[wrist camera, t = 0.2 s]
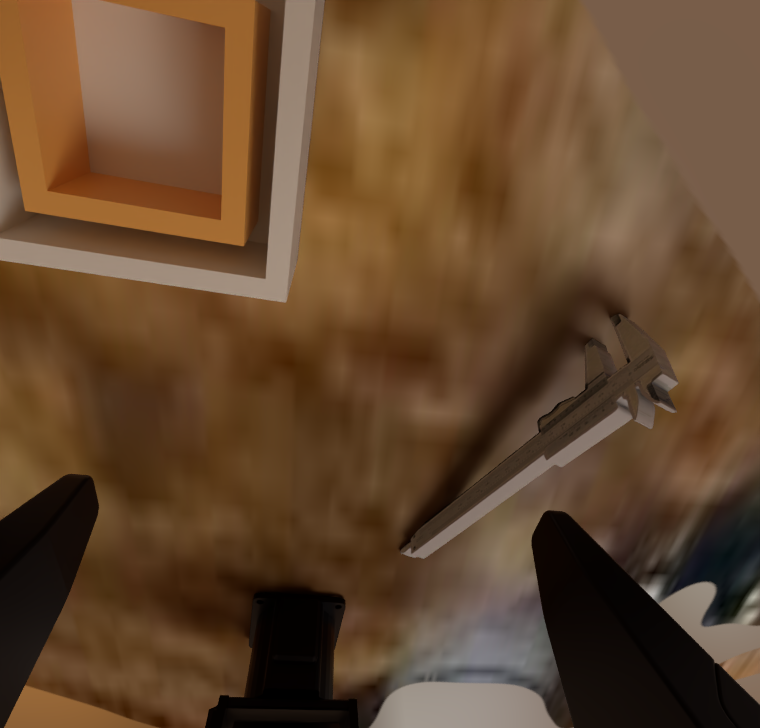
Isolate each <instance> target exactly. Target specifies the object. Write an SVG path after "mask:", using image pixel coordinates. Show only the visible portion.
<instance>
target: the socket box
mask: <svg viewBox="0 0 760 728" xmlns="http://www.w3.org/2000/svg"><path fill="white" fill-rule="evenodd" d="M324 2H325V0H0V260H3V261H10V262H16V263H23V264H30V265H37V266H43V267H50V268H57V269H63V270H70V271H77V272H84V273H90V274H97V275H104V276H111V277H117V278H124V279H131V280H138V281H144V282H151V283H158V284H164V285H171V286H178V287H185V288H191V289H198V290H205V291H212V292H218V293H225V294H232V295H239V296H245V297H252V298H259V299H265V300H272V301H279V302H286V301H287V297H288V293H289V289H290V286H291V282H292V278H293V275H294V271H295V267H296V263H297V258H298V249H299V239H300V230H301V220H302V211H303V202H304V192H305V183H306V173H307V164H308V154H309V145H310V135H311V126H312V116H313V107H314V97H315V88H316V78H317V69H318V59H319V50H320V40H321V31H322V21H323V12H324Z"/></svg>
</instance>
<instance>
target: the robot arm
mask: <svg viewBox="0 0 760 728" xmlns="http://www.w3.org/2000/svg"><path fill="white" fill-rule="evenodd" d="M98 510H99V504H98V499H97V495H96V490H95V486H94V481H93V479H92V477H90V476H88V475H78V474H68V475H65V476H63V477H62V478H60V479H59V480H57V481H56V482H55V483H53V484H52V485H50V486H49V487H47V488H46V489H45V490H43V491H42V492H40V493H39V494H37V495H36V496H35V497H33V498H32V499H30V500H29V501H27V502H26V503H25V504H23V505H22V506H20V507H19V508H17V509H16V510H15V511H13V512H12V513H10V514H9V515H8V516H6V517H5V518H3V519H2V520H0V728H4V726H5V724H6V722H7V720H8V718H9V716H10V714H11V712H12V710H13V708H14V706H15V704H16V702H17V700H18V698H19V696H20V694H21V692H22V690H23V688H24V686H25V684H26V682H27V680H28V678H29V675H30V673H31V671H32V669H33V667H34V665H35V663H36V661H37V659H38V657H39V655H40V653H41V651H42V649H43V647H44V645H45V643H46V641H47V639H48V637H49V635H50V633H51V631H52V629H53V626H54V624H55V622H56V620H57V618H58V616H59V614H60V612H61V610H62V608H63V606H64V604H65V602H66V599H67V597H68V595H69V592H70V590H71V587H72V585H73V582H74V579H75V577H76V574H77V571H78V568H79V566H80V563H81V560H82V557H83V554H84V552H85V549H86V546H87V543H88V541H89V538H90V535H91V532H92V530H93V527H94V524H95V521H96V519H97V515H98ZM532 550H533V556H534V562H535V568H536V574H537V580H538V586H539V592H540V598H541V604H542V609H543V615H544V619H545V623H546V627H547V631H548V635H549V638H550V642H551V646H552V649H553V653H554V656H555V660H556V664H557V667H558V671H559V675H560V678H561V682H562V686H563V689H564V693H565V696H566V700H567V704H568V707H569V711H570V715H571V718H572V722H573V725H574V728H760V704H759V703H758V702H757V701H755V699H753V698H752V697H751V696H750V695H749V694H748V693H747V692H746V691H745V690H744V689H743V688H742V687H741V686H740V685H739V684H738V683H737V682H736V681H735V680H734V679H733V678H732V677H731V676H730V675H729V674H728V673H727V672H726V671H725V670H724V669H723V668H722V667H721V666H720V665H719V664H717V663H714V660H713V659H712V657H711V656H710V655H709V654H708V653H707V652H706V651H705V650H704V649H702V647H700V646H699V644H698V643H697V642H696V641H695V640H694V639H693V638H692V637H691V636H690V635H689V634H687V632H686V631H685V630H684V629H682V627H681V626H680V625H679V624H678V623H677V622H676V621H674V619H672V617H671V616H670V615H669V614H668V613H667V612H666V611H665V610H664V609H663V608H662V607H661V606H660V605H659V604H658V603H657V602H656V601H655V600H654V599H653V598H652V597H651V596H650V595H649V594H648V593H647V592H646V591H645V590H644V589H643V588H642V587H641V586H640V585H639V584H638V583H637V582H636V581H635V580H634V579H633V578H632V577H631V576H630V575H629V574H628V573H627V572H626V571H625V570H624V569H623V568H622V567H621V566H620V565H619V564H618V563H617V562H616V561H615V560H614V559H613V558H612V557H611V556H610V555H609V554H608V553H607V552H606V551H605V550H604V549H603V548H602V547H601V546H600V545H599V544H598V543H597V542H596V541H595V540H594V539H593V538H592V537H591V536H590V535H589V534H588V533H587V532H586V531H585V530H584V529H583V528H582V527H581V526H580V525H579V524H578V523H577V522H576V521H575V520H574V519H573V518H572V517H571V516H569V515H568V514H567V513H565V512H562V511H551V510H549V511H546V512H545V513H544V514H543V515H542V517H541V519H540V521H539V523H538V525H537V527H536V529H535V531H534V533H533V535H532ZM344 611H345V600H344V599H343V598H337V597H322V596H307V595H292V594H277V593H262V592H261V593H256V594H255V595H254V598H253V605H252V616H251V627H250V638H249V647H251V648H252V653H251V659H250V665H249V671H248V677H247V683H246V689H245V695H244V697H229V695H220V698H219V702H218V705H217V706H216V707H214V708H211V709H209V712H208V717H207V721H206V726H205V728H359V727H358V712H357V699H356V698H348V700H333V670H334V649H335V646H336V642H337V638H338V634H339V630H340V626H341V622H342V619H343V615H344Z"/></svg>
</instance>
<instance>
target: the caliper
mask: <svg viewBox="0 0 760 728" xmlns="http://www.w3.org/2000/svg"><path fill="white" fill-rule="evenodd" d="M610 319H611V321H612V324H613V326H614V328H615V331H616V333H617V336H618V339H619V341H620V344H621V346H622V349H623V352H624V354H625V357H626V360H627V362H628V364H626V365H625V366H623V367H622V368H620V369H619V370H618V371H617V370H616V367H615V365H614V362H613V360H612V357H611V355H610V354H609V353H608V351H607V348H606V346H605V345H603V344H601V343H599V342H598V341H596V340H594V339H593V338H592V339H591V340H590V341H589V342H588V343H587V344H586V345H585V390H584V391H583V392H581V393H580V394H579V395H578V396H577V397H571V398H569V399H566V400H564V401H562V402H560V403H558V404H557V405H556V406H555V407H554V409H553V410H552V411H551V412H550V413H548V414H546V415H544V416H542V417H541V418H539V420H538V422H537V424H538V429H539V433H538V434H537V435H535V436H534V437H533V438H532V439H530V440H529V441H528V442H527V443H525V444H524V445H523V446H522V447H520V448H519V449H518V450H517V451H515V452H514V453H513V454H512V455H510V456H509V457H508V458H507V459H505V460H504V461H503V462H502V463H500V464H499V465H498V466H497V467H495V468H494V469H493V470H492V471H490V472H489V473H488V474H487V475H485V476H484V477H483V478H482V479H480V480H479V481H478V482H477V483H475V484H474V485H473V486H472V487H470V488H469V489H468V490H467V491H465V492H464V493H463V494H462V495H460V496H459V497H458V498H456V499H455V500H454V501H453V502H451V503H450V504H449V505H448V506H446V507H445V508H444V509H442V510H441V511H440V512H439V513H437V514H436V515H435V516H434V517H432V518H431V519H430V520H428V521H427V522H426V523H425V524H423V525H422V527H421V528H420V529H419V530H418V531H417V532H416V533H415V534H414V535H413V537H412V538H411V542H410V543H408V544H407V545H406V546H404V547H403V548H402V549H401V551H400V553H402V554H405V555H407V556H410V557H413V558H416V557H420V558H423V559H424V558H426V557H427V556H429V555H430V554H431V553H433V552H434V551H435V550H437V549H438V548H440V547H441V546H442V545H444V544H445V543H447V542H448V541H449V540H451V539H452V538H454V537H455V536H456V535H458V534H459V533H461V532H462V531H463V530H465V529H466V528H468V527H469V526H470V525H472V524H473V523H474V522H476V521H477V520H479V519H480V518H481V517H483V516H484V515H485V514H487V513H488V512H490V511H491V510H492V509H494V508H495V507H496V506H498V505H499V504H501V503H502V502H503V501H505V500H506V499H508V498H509V497H510V496H512V495H513V494H514V493H516V492H517V491H519V490H520V489H521V488H523V487H524V486H525V485H527V484H528V483H530V482H531V481H532V480H534V479H535V478H536V477H538V476H539V475H541V474H542V473H543V472H545V471H546V470H547V469H549V468H550V467H552V466H553V465H554V464H555V465H557V466H560V467H563V466H564V465H566V464H567V463H569V462H570V461H572V460H573V459H575V458H576V457H577V456H579V455H580V454H582V453H583V452H585V451H586V450H588V449H589V448H591V447H592V446H593V445H595V444H596V443H598V442H599V441H601V440H602V439H604V438H605V437H606V436H608V435H609V434H611V433H612V432H614V431H615V430H617V429H618V428H619V427H621V426H622V425H624V424H625V423H627V422H628V421H629V420H631V419H632V418H633V420H634V421H636V422H638V423H640V424H642V425H644V426H646V427H648V428H649V429H652V427H653V422H654V413H655V408H654V403H655V404H656V405H658V406H660V407H662V408H664V409H665V410H667V411H670V412H672V413H674V412H677V411H676V409H675V407H674V405H673V403H672V400H671V398H670V396H669V394H668V391H669V390H670V389H672V388H673V387H674V386H676V385H677V384H678V380H677V378H676V376H675V374H674V371H673V369H672V367H671V365H670V362H669V360H668V358H667V356H666V353H665V351H664V350H663V349H662V348H661V347H660V346H659V345H658V344H657V343H656V342H655V341H654V340H653V339H652V338H651V337H650V336H649V335H648V334H647V333H645V332H644V331H643V330H642V329H641V328H640V327H639V326H638V325H636V324H635V323H634V322H632V321H631V320H629V319H628V318H626V317H624V316H623V315H621V314H618V315H614V316H613V317H611V318H610Z"/></svg>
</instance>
